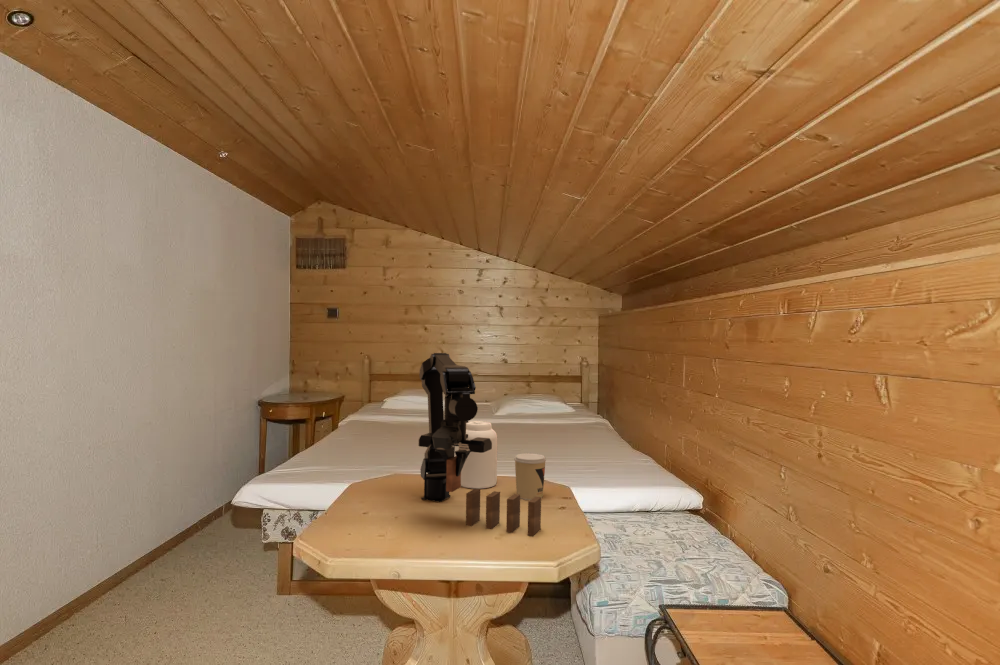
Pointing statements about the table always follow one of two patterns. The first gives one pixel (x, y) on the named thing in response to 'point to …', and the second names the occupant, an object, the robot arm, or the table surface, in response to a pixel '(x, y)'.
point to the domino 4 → (513, 513)
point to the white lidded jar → (480, 458)
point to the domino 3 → (492, 510)
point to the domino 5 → (534, 516)
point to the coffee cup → (529, 475)
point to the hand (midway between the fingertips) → (454, 475)
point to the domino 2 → (472, 507)
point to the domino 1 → (452, 476)
